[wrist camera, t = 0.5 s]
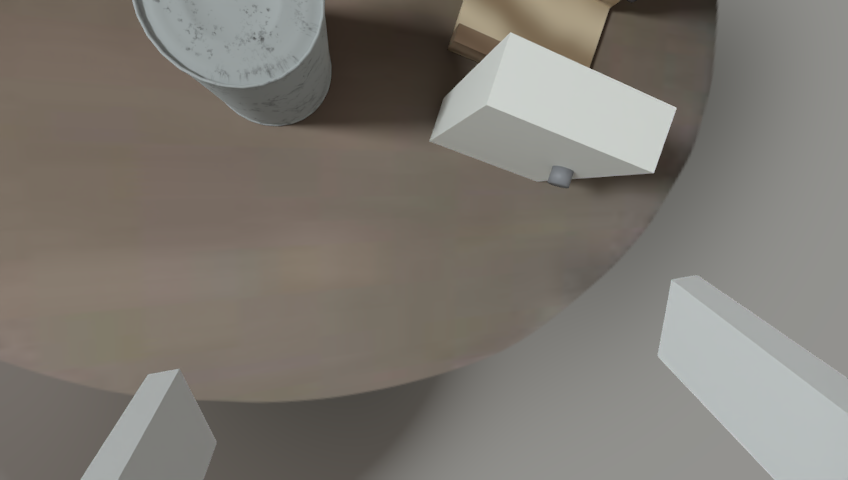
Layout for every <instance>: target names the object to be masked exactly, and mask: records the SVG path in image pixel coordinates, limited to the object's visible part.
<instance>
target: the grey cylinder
mask: <svg viewBox="0 0 848 480" xmlns="http://www.w3.org/2000/svg"><path fill="white" fill-rule="evenodd" d="M132 1H133V5H134V8H135V12H136V16H137V17H138V19H139V21H140V23H141V25H142V27H143V29H144V31H145V33H146V35H147V37H148V38H149V39H150V40H151V42H152V43H153V44H154V45H155V47H156V48H157V49H158V50H159V52H160V53H161V54H162V55H163V56H164V57H166V58H167V59H168V60H169V61H170V62H172V63H173V64H174V65H175V66H176V67H178V68H179V69H180V70H181V71H183V72H185V73H187V74H189V75H191V76H192V77H193V78H194V79H196V80H197V81H198V82H199V83H201V84H202V85H203V86H205V87H206V88H207V89H208V90H210V91H211V92H212V93H214V94H215V95H216V96H217V97H219V98H220V99H221V100H222V101H224V102H225V103H226V104H227V105H228V106H229V107H230V108H231V109H232V110H234V111H235V112H236V113H237V114H238V115H240V116H242V117H244V118H246V119H248V120H250V121H252V122H255V123H259V124H262V125H268V126H283V125H289V124H293V123H296V122H298V121H301V120H303V119H305V118H306V117H308V116H309V115H310V114H312V113H313V112H314V111H315V110H316V109H317V108H318V107H319V106H320V104H321V103H322V102H323V100H324V98H325V96H326V94H327V92H328V90H329V86H330V82H331V67H332V65H331V60H330V55H329V48H328V38H327V29H326V19H325V0H132Z"/></svg>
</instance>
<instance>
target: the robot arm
mask: <svg viewBox="0 0 848 480" xmlns="http://www.w3.org/2000/svg"><path fill="white" fill-rule="evenodd" d="M658 357H659V358H660V359H661V360H662V361H663V363H664V364H665V365H666V366H667V367H668V368H669V369H670V370H671V371H672V372H673V373H674V374H675V375H676V376H677V377H678V378H679V379H680V381H682V383H684V385H685V386H686V387H687V388H688V389H689V390H690V391H691V392H692V393H693V394H694V395H695V396H696V397H697V398H698V400H699V401H700V402H701V403H702V404H703V405H704V406H705V407H706V408H707V409H708V410H709V411H710V412H711V413H712V414H713V415H714V416H715V417H716V419H717V420H718V421H719V422H721V424H722V425H723V426H724V427H725V428H726V429H727V430H728V431H729V432H730V433H731V434H732V435H733V436H734V438H735V439H736V440H737V441H738V442H739V443H740V444H741V445H742V446H743V447H744V448H745V449H746V450H747V451H748V452H749V453H750V454H751V455H752V456H753V458H754V459H755V460H756V461H757V462H758V463H759V464H760V465H761V466H762V467H763V468H764V469H765V470H766V471H767V472H768V473H769V474H770V475H771V477H772V478H773V479H774V480H848V378H847V377H845V376H844V375H842V374H841V373H839V372H838V371H836V370H835V369H833V368H832V367H831V366H829V365H828V364H826V363H825V362H823V361H822V360H820V359H819V358H818V357H816V356H815V355H813V354H812V353H810V352H809V351H807V350H806V349H805V348H803V347H802V346H800V345H799V344H797V343H796V342H794V341H793V340H791V339H790V338H789V337H787V336H785V335H784V334H783V333H781V332H780V331H778V330H777V329H775V328H774V327H772V326H771V325H770V324H768V323H767V322H765V321H764V320H762V319H761V318H760V317H758V316H757V315H755V314H754V313H752V312H751V311H749V310H748V309H746V308H745V307H743V306H742V305H740V304H739V303H738V302H736V301H735V300H733V299H732V298H730V297H729V296H727V295H726V294H725V293H723V292H722V291H720V290H719V289H717V288H716V287H714V286H713V285H712V284H710V283H709V282H707V281H706V280H704V279H703V278H701V277H700V276H698V275H694V276H688V277H683V278H677V279H672V280H671V285H670V290H669V296H668V302H667V306H666V312H665V317H664V324H663V329H662V334H661V340H660V345H659V350H658ZM216 443H217V442H216V440H215V438H214V436H213V434H212V432H211V430H210V428H209V426H208V424H207V422H206V420H205V418H204V416H203V414H202V412H201V410H200V408H199V406H198V404H197V402H196V400H195V398H194V396H193V394H192V392H191V390H190V388H189V386H188V384H187V382H186V381H185V379H184V377H183V375H182V373H181V371H180V369H175V370H170V371H164V372H159V373H153V374H148V375H147V377H146V378H145V380H144V381H143V383H142V385H141V386H140V388H139V389H138V391H137V392H136V394H135V396H134V397H133V399H132V400H131V402H130V403H129V405H128V406H127V408H126V410H125V411H124V413H123V414H122V416H121V417H120V419H119V421H118V422H117V424H116V425H115V427H114V428H113V430H112V431H111V433H110V435H109V436H108V438H107V439H106V441H105V443H104V444H103V445H102V447H101V449H100V450H99V452H98V453H97V455H96V456H95V458H94V459H93V461H92V463H91V464H90V466H89V467H88V469H87V470H86V472H85V474H84V475H83V477H82V478H81V480H203V479H204V477H205V474H206V471H207V468H208V465H209V463H210V459H211V457H212V454H213V452H214V449H215V446H216Z"/></svg>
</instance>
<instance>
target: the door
mask: <svg viewBox="0 0 848 480" xmlns="http://www.w3.org/2000/svg"><path fill="white" fill-rule="evenodd" d="M676 109H677V108H676V107H674V106H671V105H669V104H667V103H665V102H663V101H661V100H658V99H656V98H654V97H652V96H650V95H647V94H645V93H643V92H641V91H639V90H636V89H634V88H632V87H630V86H628V85H625V84H623V83H621V82H619V81H617V80H614V79H612V78H610V77H608V76H606V75H603V74H601V73H599V72H597V71H595V70H592V69H590V68H588V67H586V66H584V65H581V64H579V63H577V62H575V61H573V60H570V59H568V58H566V57H564V56H562V55H560V54H557V53H555V52H553V51H551V50H549V49H546V48H544V47H542V46H540V45H538V44H535V43H533V42H531V41H529V40H527V39H524V38H522V37H520V36H518V35H516V34H513V33H511V32H510V33H509V34H508V35H507V36H506V37H505V38H504V39H503V40H502V41H501V42H500V43H499V44H498V45H497V46H496V47H495V48H494V49H493V50H492V51H491V52H490V53H489V54H488V55H487V56H486V57H485V58H484V59H483V60H482V61H481V62H480V63H479V64H478V65H477V66H476V67H475V68H474V69H473V70H471V71H470V72H469V73H468V74H467V75H466V76H465V77H464V78H463V79H462V80H461V81H460V82H459V83H458V84H457V85H456V86H455V87H454V88H453V89H452V90H451V91H450V92H449V93H448V94H447V95H446V96H445V97H444V98H443V101H442V104H441V107H440V110H439V114H438V117H437V120H436V123H435V126H434V129H433V132H432V135H431V138H430V142H433V143H435V144H438V145H441V146H443V147H446V148H449V149H451V150H454V151H457V152H459V153H462V154H465V155H467V156H470V157H473V158H475V159H478V160H481V161H483V162H486V163H489V164H491V165H494V166H497V167H499V168H502V169H505V170H507V171H510V172H513V173H515V174H518V175H521V176H523V177H526V178H529V179H531V180H534V181H537V182H539V181H547V182H548V183H549V184H551V185H554V186H557V187H562V188H569V185H570V182H571V179H580V178H594V177H608V176H621V175H635V174H649V173H654V171H655V169H656V166H657V163H658V160H659V157H660V154H661V151H662V149H663V146H664V143H665V140H666V137H667V134H668V131H669V129H670V126H671V123H672V120H673V117H674V114H675V111H676Z"/></svg>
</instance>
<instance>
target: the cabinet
mask: <svg viewBox="0 0 848 480" xmlns="http://www.w3.org/2000/svg"><path fill="white" fill-rule="evenodd" d="M619 1H621V0H463V3H462V6H461V9H460V12H459V15H458V18H457V21H456V25H455V28H454V31H453V34H452V37H451V40H450V43H449V46H448V49H447V50H450V51H452V52H454V53H457V54H459V55H461V56H464V57H466V58H468V59H471V60H473V61H475V62H478V63H480V62H481V61H482V60H483V59H484V58H485V57H486V56H487V55H488V54H489V53H490V52H491V51H492V50H493V49H494V48H495V47H496V46H497V45H498V44H499V43H500V42H501V41H502V40H503V39H504V38H505V37H506V36H507V35H508V34H509V33H510V32H511V33H513V34H516V35H518V36H520V37H522V38H524V39H527V40H529V41H531V42H533V43H535V44H538V45H540V46H542V47H544V48H546V49H549V50H551V51H553V52H555V53H557V54H560V55H562V56H564V57H566V58H568V59H570V60H573V61H575V62H577V63H579V64H581V65H584V66H586V67H588V68H590V65H591V62H592V59H593V56H594V53H595V50H596V47H597V44H598V41H599V38H600V35H601V32H602V29H603V26H604V23H605V20H606V17H607V15H608V12H609V9H610V8H611V7H612V6H613V5H615V4H616V3H618V2H619ZM627 1H628V2H631V3H632V2H635V1H636V0H627Z"/></svg>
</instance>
